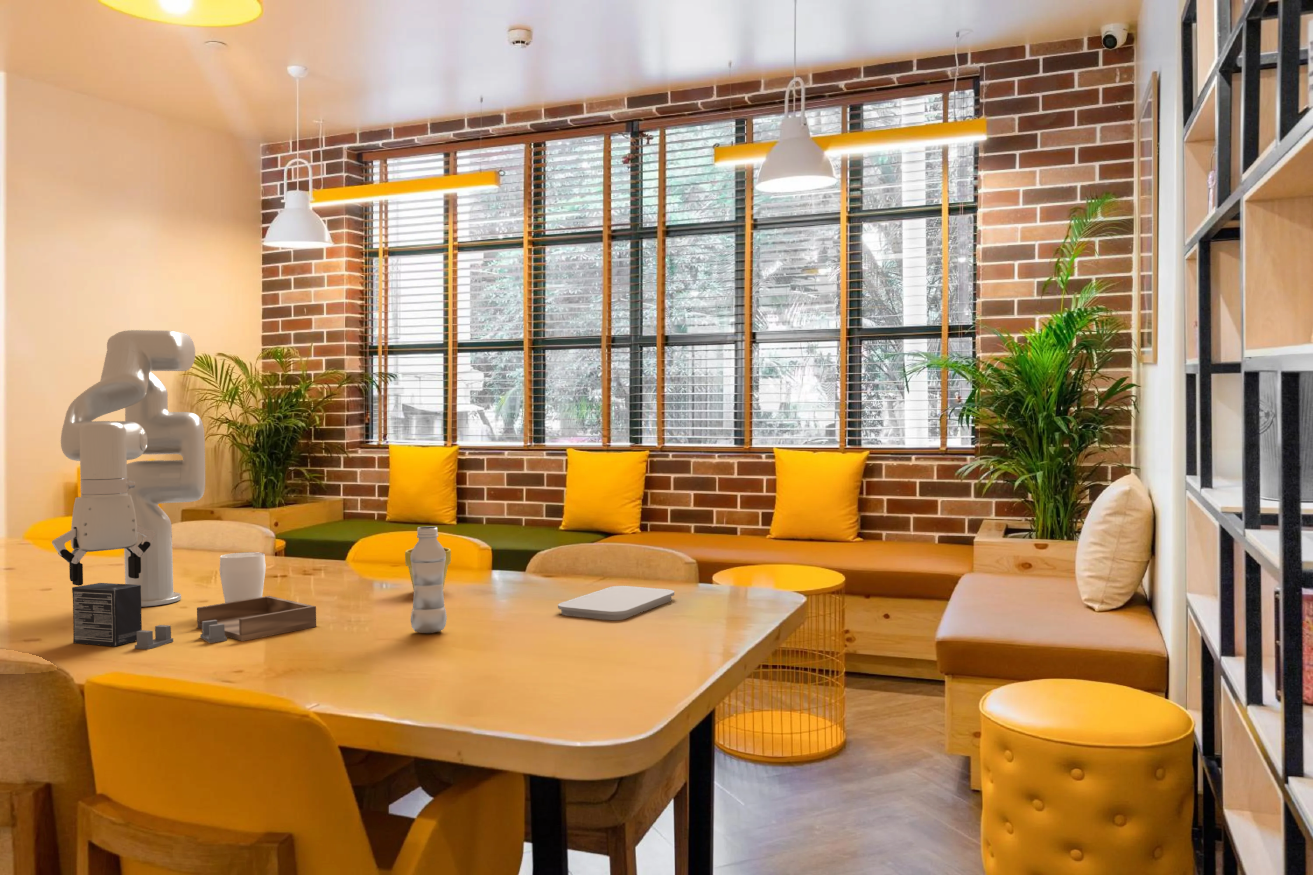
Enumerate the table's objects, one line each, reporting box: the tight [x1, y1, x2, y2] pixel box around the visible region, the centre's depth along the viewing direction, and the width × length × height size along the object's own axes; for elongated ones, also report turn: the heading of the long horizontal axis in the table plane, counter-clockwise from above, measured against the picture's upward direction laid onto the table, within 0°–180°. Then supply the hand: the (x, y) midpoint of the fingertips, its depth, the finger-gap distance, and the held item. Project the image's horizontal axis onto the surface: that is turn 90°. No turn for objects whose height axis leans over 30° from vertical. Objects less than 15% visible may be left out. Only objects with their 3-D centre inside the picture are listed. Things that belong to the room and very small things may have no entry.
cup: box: [219, 551, 267, 603], centre depth 208 cm, size 9×9×12 cm
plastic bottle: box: [410, 525, 448, 634], centre depth 186 cm, size 6×7×20 cm
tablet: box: [557, 585, 675, 621], centre depth 209 cm, size 16×26×2 cm, turn 152°
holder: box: [196, 595, 317, 642], centre depth 193 cm, size 18×15×4 cm
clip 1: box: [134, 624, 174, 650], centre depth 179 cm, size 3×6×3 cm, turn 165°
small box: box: [71, 582, 143, 648], centre depth 182 cm, size 11×6×10 cm, turn 71°
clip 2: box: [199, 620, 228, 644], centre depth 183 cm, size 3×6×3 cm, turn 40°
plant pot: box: [404, 546, 452, 591], centre depth 229 cm, size 10×10×10 cm
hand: (106, 581), depth 181 cm, fingers open, 9 cm apart
